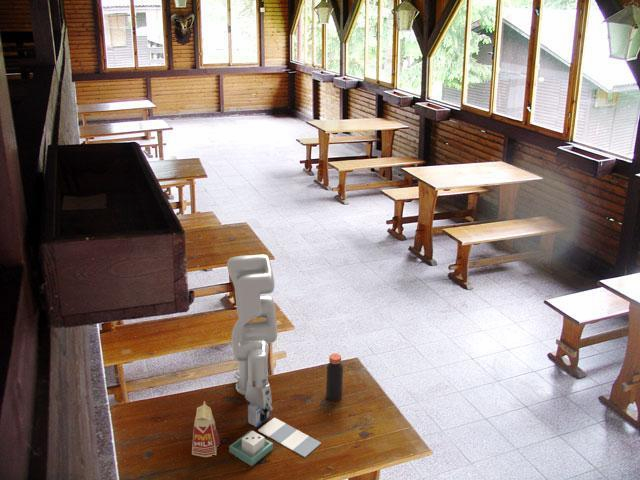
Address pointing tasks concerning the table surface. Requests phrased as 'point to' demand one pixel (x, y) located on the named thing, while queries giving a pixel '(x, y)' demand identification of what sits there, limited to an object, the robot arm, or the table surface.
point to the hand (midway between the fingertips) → (258, 417)
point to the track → (289, 437)
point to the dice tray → (237, 451)
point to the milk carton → (204, 433)
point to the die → (252, 443)
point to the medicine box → (255, 415)
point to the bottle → (334, 378)
